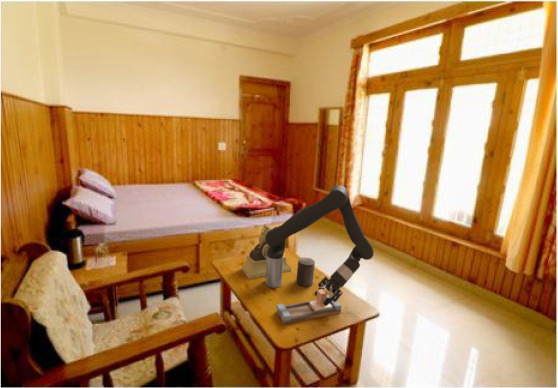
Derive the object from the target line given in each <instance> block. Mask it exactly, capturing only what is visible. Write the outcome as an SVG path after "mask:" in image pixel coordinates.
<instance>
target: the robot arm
mask: <svg viewBox="0 0 558 388" xmlns="http://www.w3.org/2000/svg"><path fill="white" fill-rule="evenodd" d="M350 200H351V199H350V195H349V192H348V189H347V188H346V187H344V186H343V185H339V184H338V185H335V186H333V187H331V189H330V191H329V193H328V194H327V195H326V196H324V197H323V198H322V199H320V200H319V201H318V202H316V203H313V204H310V205H308V206H305V207H303V208H301V209H300V210H298V211H297V212H296V213H294V214H293V215H292V216H291V217H289V218H288V219H287V220H285V222H283V223H282V224H281V225H279V226H275V227H273V228H271V230H270V231H268V232H267V234H266V236H265V241H266V243H267V244H268V245H269V248H268V250H267V262H266V276H265V282H264V283H265V285H266V287H268V288H271V289H272V288H275V289H276V288H279V287H280V286H282V282H283V281H282V280H283V272H282V269H283V255H284V253H285V251H286V242H287V239H288V238H289V237H291V236H292V235H295V234H298V233H299V232H301V231H304V230H305V229H307V228H308V227H310V226H312V225H313V224H314V223H316V222H317V221H319V220H321V219H322V218H323V217H325V216H327V214H328V215H329V213H333V212H334V211H336V210H339V211H340V214H341V217H342V220H343V224H344V228H345V230H346V232H347V235H348V238H349V239H350V241H351V242H352V244H354V245H355V246H354V247H353V248H352V250H351V252H350V253H349V256H348V257H347V258H346V259H345V261H344V262H343V263H342V264H341V265H339V267H337V269H336V270H335V271H334V272H333V273H332V274H331V275H330V278H328V276H324V278H322V280H320V282H318V283H317V286H318V288H317V290H320V289H323V290H324V291H328V295H329V298H327V299H326V300H325V301H324V302H323V304H324V305H325V306H327V305H328V304H329V303H330V302H331V301H334V302H336V301H338V300H339V299H340V298H341V296H342V295H343V293H344V292H343V291H342V290H341V289H342V288H343V287H344V286H345V284H347V282H348V281H349V280H350V279H351V278H352V277H353V275H354V274H355V273H356V272H357V271H358V269H359V268H360V267H361V263H360V261H361V259H362V260H365V261H366V260H367V261H368V260H371V259H373V257H374V248H373V246H372V244H370V241H369V240H368V239H367V237H366V236H365V233H364V231H363V230H362V228H361V225H360V223H359V221H358V218H357V216H356V214H355V211H354V209H353V207H352V203H351V201H350ZM340 288H341V289H340ZM317 290H316V291H315V292H314V295H315V296H316V297H317Z"/></svg>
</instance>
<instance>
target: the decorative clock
mask: <svg viewBox="0 0 558 388" xmlns="http://www.w3.org/2000/svg"><path fill="white" fill-rule="evenodd" d="M262 227H263V228H262V229H261V232H260V235H259V236H258V244H256V245H255V247H254V248H253V249H251V251H250V253H249V254H247V255H246V260H245V261H244V263H243V265H242V266H241V270H242V271H243V272H244V275H246V276H247V278H248V279H249V280H250V279H255V278H261V277H266V262H267V250H268V248H269V245H268V244H267V243H266V241H265V236H266V234H267V232H268V231H270V230H271V229H272V228H271V227H269V226H268V224H267V223H264V224H263V225H262ZM286 259H287V257H286V255H284V254H283V269H282V273H287V272H290V271H292V267H291V265H289V264H288V262H287V260H286Z"/></svg>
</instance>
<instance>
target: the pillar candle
mask: <svg viewBox="0 0 558 388" xmlns="http://www.w3.org/2000/svg"><path fill="white" fill-rule="evenodd" d="M315 265H316V261H315V259H313V258H310V257H306V256H305V257H300V258H298V261H297V270H296V279H295V281H296V284H297V285H298V286H300V287H304V288H305V287H306V288H307V287H308V288H309V287H312V285H313V284H314V275H315Z"/></svg>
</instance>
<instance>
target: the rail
mask: <svg viewBox="0 0 558 388" xmlns="http://www.w3.org/2000/svg"><path fill="white" fill-rule="evenodd" d="M327 298H329V294H327V296H326V299H327ZM315 300H316V299H313V300H308V301H302V302H297V303H292V304H287V305H284V303H277V304H276V313H277V316H278V317H279V319H280V320H281V321H282V324H283V325H289V324H294V323H299V322H303V321H307V320H313V319H317V318H321V317H326V316H330V315H335V314H339V313H341V312H342V305H341V303H340V302H339V301H338V300H337V301H336V302H334V301H331V302H330V304H331V305H332V308H329V309H325V310H320V311H314V309H313V308H312V307H311V306H310V305H309V302H310V301H315Z"/></svg>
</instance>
